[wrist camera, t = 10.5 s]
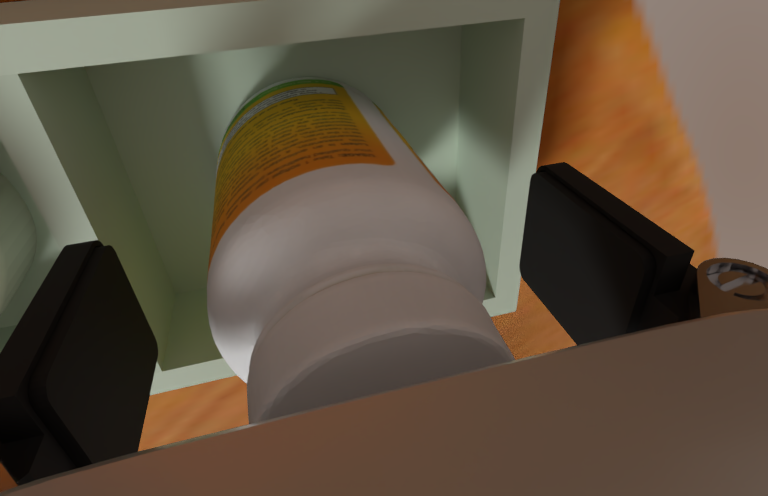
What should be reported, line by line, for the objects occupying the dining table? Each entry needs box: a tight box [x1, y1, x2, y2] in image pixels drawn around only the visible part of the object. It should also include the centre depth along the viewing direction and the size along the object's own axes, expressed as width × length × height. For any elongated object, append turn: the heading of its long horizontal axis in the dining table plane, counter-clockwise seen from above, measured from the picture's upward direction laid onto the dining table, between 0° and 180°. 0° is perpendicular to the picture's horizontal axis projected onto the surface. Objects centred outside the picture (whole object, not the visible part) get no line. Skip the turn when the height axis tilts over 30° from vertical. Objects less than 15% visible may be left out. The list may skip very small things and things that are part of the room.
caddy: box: [0, 0, 560, 395], centre depth 12 cm, size 22×10×4 cm, turn 93°
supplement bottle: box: [207, 77, 515, 424], centre depth 11 cm, size 5×5×10 cm
